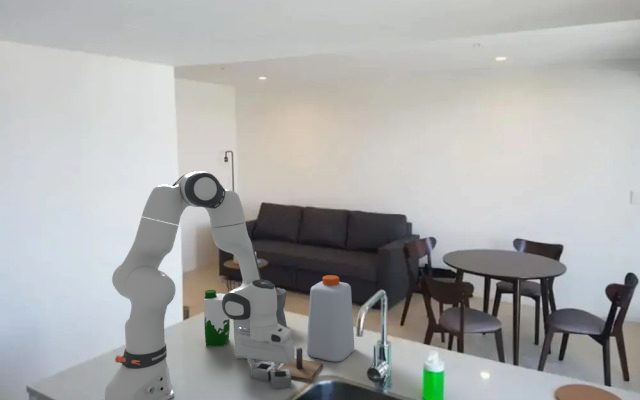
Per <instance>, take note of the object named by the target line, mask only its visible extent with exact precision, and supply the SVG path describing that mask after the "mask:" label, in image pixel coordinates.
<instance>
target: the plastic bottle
mask: <svg viewBox="0 0 640 400" xmlns="http://www.w3.org/2000/svg"><path fill="white" fill-rule="evenodd" d="M352 302H353V301H352V287H351V285H350V284H349V283H347V282H343V281H342V282H341V281H340V277H339V276H337V275H336V274H335V275H331V274H329V275H328V274H327V275H324V276H322V280H321V281H319V282H318V283H315V284H314V285H312V286H311V287H310V292H309V307H308V311H309V312H308V322H307V336H306V349H305V350H306V353H307V355H308V356H309V357H311V358H314V359H319V360H322V361H323V360H324V361H327V362H334V363H337V362H342V361H344V360H345V359H347V357H348V356H350V355H351V354H352V353H353V352H354V350H355V334H354V331H355V330H354V316H353V303H352Z"/></svg>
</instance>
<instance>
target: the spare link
mask: <svg viewBox="0 0 640 400" xmlns="http://www.w3.org/2000/svg"><path fill="white" fill-rule="evenodd" d="M269 382H270V388H271V389H270V390H271V391H277V390H279V391H280V390H290V389H292V379H291V376H290V372H289V369H282V370H270V381H269Z"/></svg>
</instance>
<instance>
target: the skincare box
mask: <svg viewBox="0 0 640 400" xmlns="http://www.w3.org/2000/svg"><path fill="white" fill-rule="evenodd" d="M232 321H233V335H234V336H233V338H234V339H233V340H234V341H235V340H236V337H235V331H236V329H238V328H240V327H243V328H249V329H250V321H249V319H245V320H233V319H232ZM234 356H235V360H236V359H238V360H239V359H247V357H242V356H237V355H236V354H234Z"/></svg>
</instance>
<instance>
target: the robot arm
mask: <svg viewBox="0 0 640 400" xmlns="http://www.w3.org/2000/svg"><path fill="white" fill-rule="evenodd" d="M147 198H148V199H147V200H146V203H145V205H144V208H143V210H142V214H141V218H140V221H139V225H138V228H137V232H136V236H135V238H134V241H133V243H132V246H131V248H130V249H129V251H128V253H127V255H126V257H125V258H124V260H123V262H122V263H121V264H120V265H118V266H117V267H116V268H115V270H114V271H113V274H112V276H111V277H112V278H111V282H112V285H113V288H114V289H115V290H116V292H117V293H118V294H119V295H120V296H121V297H124V298H126V299H128V300H129V302H130V303H131V306H130V308H131V309H130V314H129V318H128V319H126V322H125V324H124V333H125V334H124V336H125V337H124V338H125V348H124V351H123V355H116V356H115V358H114V363H120V367H119V368H118V369H117V370H116V372H115V374H114V375H113V377H112V378H111V379H110V381H109V382H108V384H107V385H106V386H105V390H104V391H105V392H104V399H103V400H170V399H171V398H174V396H175V393H174V392H175V391H174V390H173V385H172V383H171V382H172V381H171V375H170V369H169V366H168V363H167V353H168V352H167V351H168V350H167V349H168V348H167V343H166V341H165V319H166V318H165V317H166V312H167V309H168V306H169V304H171V302H172V301H173V300H174V298H175V296H176V284H175V282H174V280H173V279H172V278H171V277H170V276H169V275H168V274H166V273H165V272H164V271H162V270H159V267H160V265H161V263H162V262H163V260H164V258H165V257H166V256H167V255H169V254H170V252H172V250H173V247H174V244H175V240H176V236H177V234H178V230H179V226H180V222H181V217H182V215H183V212H184V211H185V210H186V208H188V207H194V208H204V209H205V210H206V211H207V213H208V216H209V220H210V221H209V223H210V229H211V236H212V240H213V243H214V244H215V246H216V247H217V248H219V250H221V251H224V252H226V253H229V254H232V255H234V256H235V257H236V259H237V261H238V266H239V269H240V274H241V277H242V278H241V279H242V283H241V285H240V286H238V287H235V288H234V289H232V290H230V291H228V292H227V293H224V294H225V296H224V297H223V299H222V309H223V311H224V313H225V315H226V316H227V317H229V318H230V320H232V321H233V320H245V319H249V321H250V329H249V328H243V327H240V328H238V329H236V331H235V337H236V340H235V339H234V348H233V349H234V353H235V354H236V355H237V356H242V357H247V358H246V360H247V362H248V364H249V365H250V370H251V369H252V368H253V367H254V366H255V365H256V364H257V363H255V361H254V360H260V361H264V362H270V363H271V362H272V363H273V364H274V365H276V366H275V367H273V368H272V369H271V370H278V369H279V368H280V366H281V364H282V365H283V364H290V363H291V362H292V361H293V360H294V358H295V355H296V353H295V345H294V344H295V343H294V341H293V339H292V338H291V336H292V335H293V331H292V330H291V329H290V328H287V327H284V326H282V325H280V324H278V323H277V317H276V312H277V294H276V289H275V286H274V283H273V282H272V281H269V280H266V279H262V275H261V273H260V272H261V271H260V267H259V263H258V258H257V256H256V252H255V247H254V244H253V242H252V239H251V238H250V237H249V234H248V230H247V225H246V218H245V213H244V212H245V211H244V208H243V205H242V201H241V199H240V196H239V194H238V193H237V192H236V191H234V190H231V189H225V188H224V187H223V185H222V184H221V183H220V180H218V178H217V177H216V176H215V175H214V174H212V173H211V172H207V171H199V170H196V171H194V170H193V171H190V172H188V173H186V174H183V175H181V176H180V177H179V178H178V179H177V180H176V181H175V182H174V183H173V184H172V185H170V184H169V185H168V184H161V185H157V186H155V187H154V188H153V189H152V190H151V192H150V194H149V196H148V197H147ZM235 354H234V355H235Z"/></svg>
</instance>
